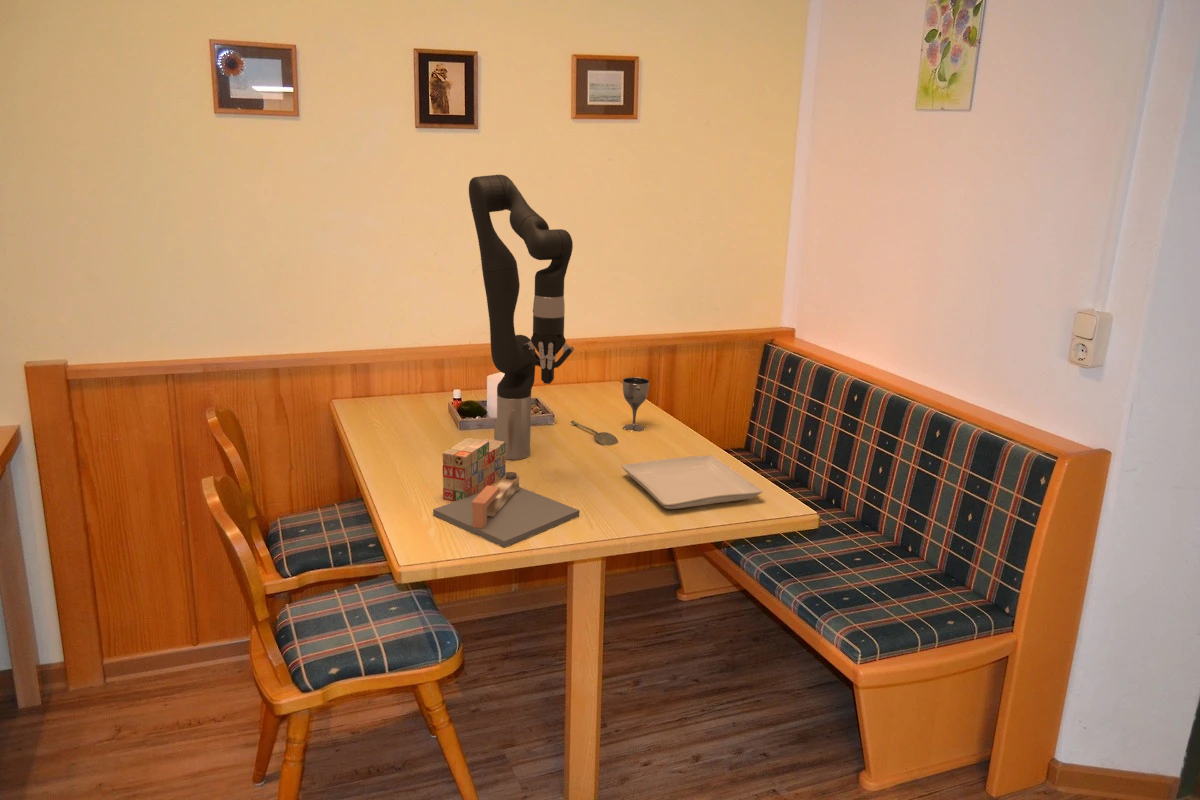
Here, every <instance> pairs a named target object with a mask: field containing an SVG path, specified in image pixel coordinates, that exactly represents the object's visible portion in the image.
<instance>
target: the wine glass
mask: <svg viewBox="0 0 1200 800" xmlns="http://www.w3.org/2000/svg"><path fill="white" fill-rule="evenodd" d="M649 389H650V380H649V379H647V378H644V377H638V376H631V377H629V376H628V377H624V378H623V379H622V393H623V398H624V399H625V401H626V403H627V404H628V405H629V406H630V408H631V411H632V423H628V425H627V424H625V426H624V425H623V426H624V427H623V428H625V429H626V430H625V431H627V430H632V431H638V432H643V431H645V430H644V428H645V429H646V427H645V426H644V425H642V424H638V425H637V422H636V417H637V411H638V409H639V408H640V406H641V405H642V404H643V403H644V402H645V401H646V399H647V398H648V394H649ZM641 425H642V426H641ZM623 428H622V429H623ZM642 430H643V431H642ZM632 431H631V432H632Z"/></svg>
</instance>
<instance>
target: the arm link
mask: <svg viewBox="0 0 1200 800" xmlns="http://www.w3.org/2000/svg"><path fill="white" fill-rule="evenodd" d="M495 487H500V493H499V494H498V495H497V496H496V498H495V499H494V500H493V501H492V502H491V503H490V504H489V505H488V506H487V516H493V517H494V516H495V515H496V513H497V512H498V511H499V510H500V509H501V508H502V506H503V505H504V504H505V503H506V502H507V501H508V499H509V498H510V497H511V496H512V495H513V494H514V492H516V491H518V490H519V487H520V476H519V475H517V472H514V471H506V474H505V475H504V476H503V477H502V479H501V481H499V483H498V484H497V485H495Z"/></svg>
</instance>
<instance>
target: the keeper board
mask: <svg viewBox="0 0 1200 800" xmlns="http://www.w3.org/2000/svg"><path fill="white" fill-rule="evenodd" d="M499 493H500V487H496V485H490V486H486V487H485V488H484V489H483V490H482V491H481V493H478V494H475V495H472V496H469V497H466V498H464V499H461V500H458V501H451V502H450V503H447V504H444V505H441V506H438V507H435V508H433V509H432V515H433V516H434V517H436V518H439V519H441V520H442V521H444V522H447V523H449V524H452V525H453V526H455V527H458V528H460V529H462V530H464V531H467V532H470V533H471V534H473V535H475V536H478V537H479V538H480V537H481V538H483V539H484V540H487V541H489V542H491V543H493V544H495V545H498V546H500V547H502V548H508V547H509V546H512V545H514V544H517V543H519V542H521V541H523V540H526V539H528V538H531V537H532V536H536V535H537V534H540V533H542V532H544V531H547V530H550V529H552V528H554V527H558V526H559V525H561V524H564V523H567V522H569V521H571V520H574V519H576V518H578V517H580V509H577V508H575V507H572V506H570V505H567V504H564V503H562V502H559V501H558V500H555V499H551V498H549V497H546V496H544V495H541V494H538V493H536V492H534V491H532V490H529V489H527V488H523V487H521V486H519V490H518V491H516V492H514V494H513V495H512V496H511V497H510V498H509V499H508V501H507V502H506V503H505V504H504V505H503V506H502V508H501V509H500V510H499V511H498V512H497V513H496V515H495V516H494V517H493V516H487V506H488V505H489V504H490V503H491V502H492V501H493V500H494V499H495V498H496V496H497V495H498V494H499Z"/></svg>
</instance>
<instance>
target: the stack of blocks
mask: <svg viewBox="0 0 1200 800" xmlns="http://www.w3.org/2000/svg"><path fill="white" fill-rule="evenodd" d="M506 460H507V459H506V453H505V442H503V441H497V440H494V439H490V438H483V439H476V438H472V437H471V438H470V437H466V438H465V439H463V440H462V441H460V442H459V443H456V444H455V445H454V446H452V447H451V448H449V449H447V450H445V451H443V452H442V483H443V484H442V486H443V487H442V496H443V497H442V499H443V500H445V501H450V502H455V501H458V500H461V499H464V498H466V497H469V496H472V495H475V494H478V493H481V491H482V490H483V489H484V488H485V487H486V486H493V484H495V483H496V482H497V481H499V480H501V478H502V479H503V476H505V475H506V473H507V471H506V467H507V466H506V463H507V462H506Z"/></svg>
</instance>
